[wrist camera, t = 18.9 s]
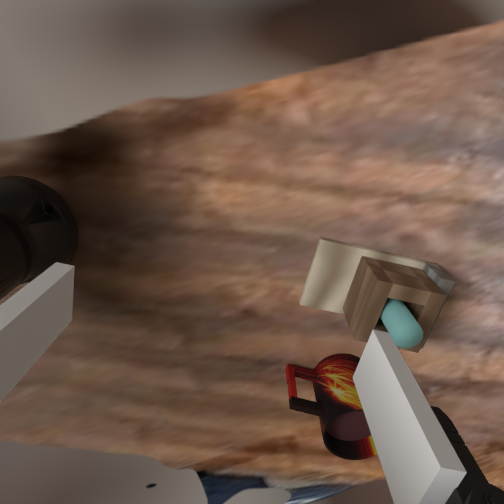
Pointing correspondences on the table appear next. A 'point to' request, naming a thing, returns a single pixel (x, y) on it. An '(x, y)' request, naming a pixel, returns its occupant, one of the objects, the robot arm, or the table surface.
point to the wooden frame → (344, 268)
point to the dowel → (401, 324)
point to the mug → (335, 405)
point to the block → (389, 286)
